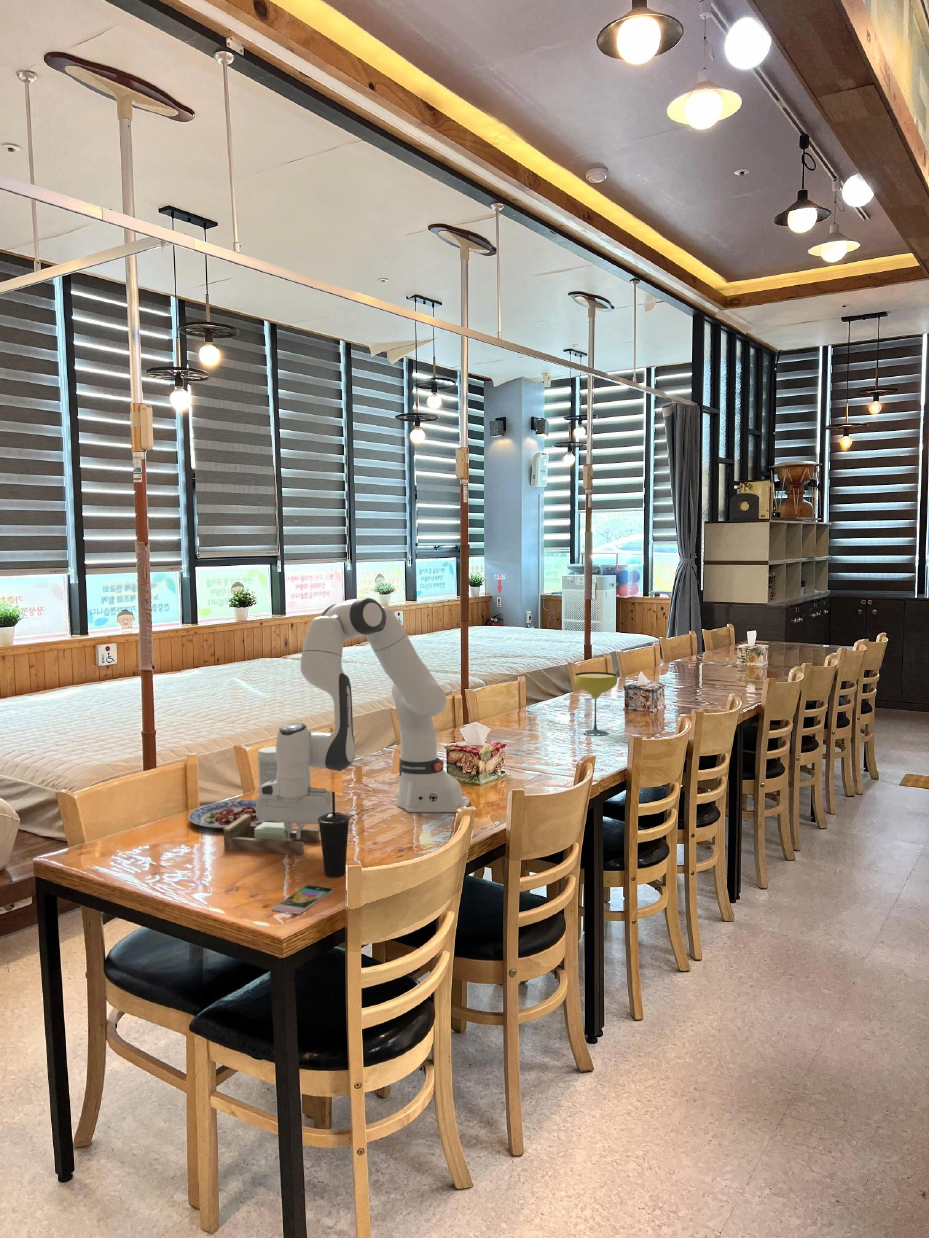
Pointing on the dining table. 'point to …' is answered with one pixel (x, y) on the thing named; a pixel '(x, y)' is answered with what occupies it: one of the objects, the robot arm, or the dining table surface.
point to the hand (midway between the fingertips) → (294, 838)
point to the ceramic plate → (224, 813)
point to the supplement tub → (267, 764)
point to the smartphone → (303, 899)
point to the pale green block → (271, 831)
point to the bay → (243, 828)
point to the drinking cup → (334, 841)
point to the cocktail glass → (595, 688)
